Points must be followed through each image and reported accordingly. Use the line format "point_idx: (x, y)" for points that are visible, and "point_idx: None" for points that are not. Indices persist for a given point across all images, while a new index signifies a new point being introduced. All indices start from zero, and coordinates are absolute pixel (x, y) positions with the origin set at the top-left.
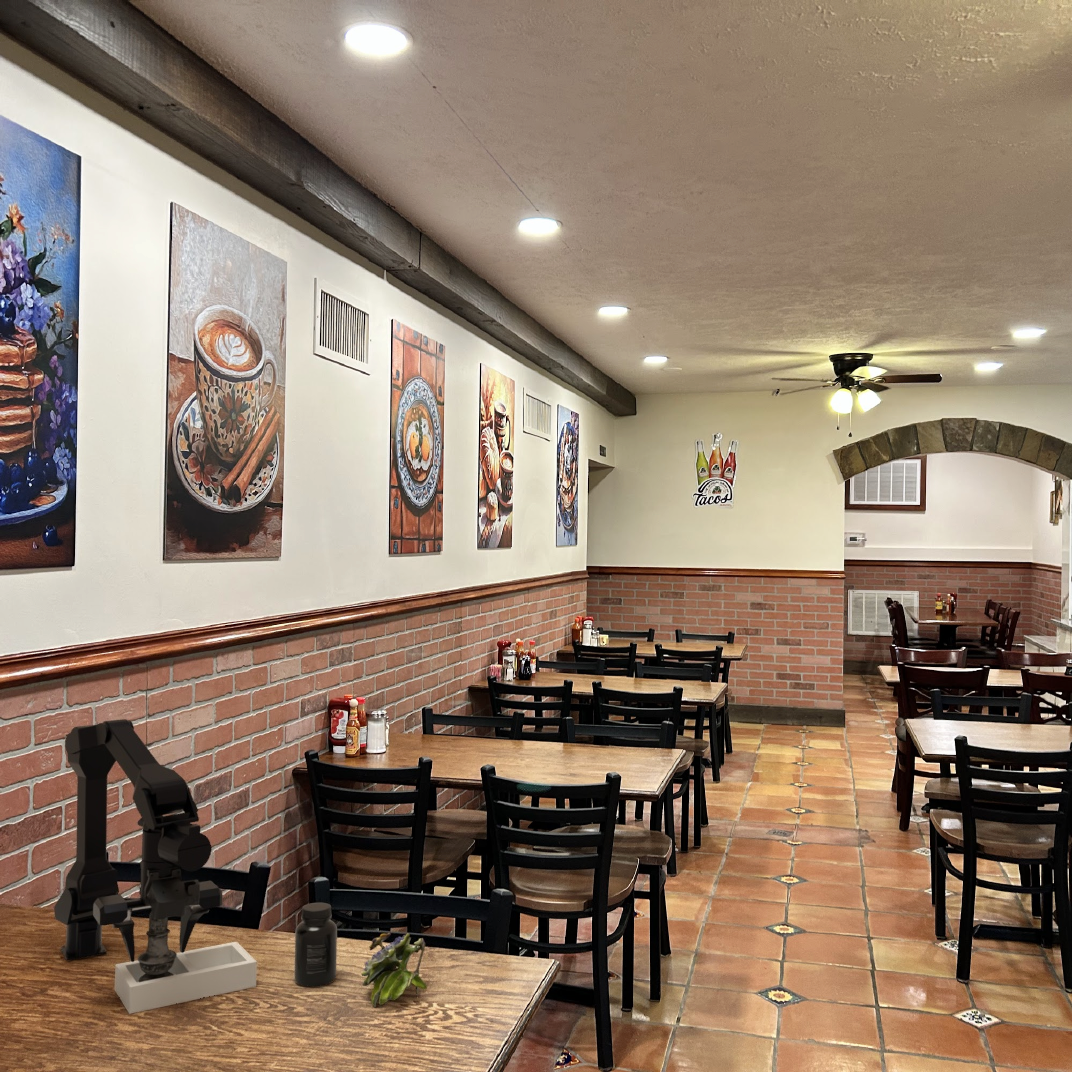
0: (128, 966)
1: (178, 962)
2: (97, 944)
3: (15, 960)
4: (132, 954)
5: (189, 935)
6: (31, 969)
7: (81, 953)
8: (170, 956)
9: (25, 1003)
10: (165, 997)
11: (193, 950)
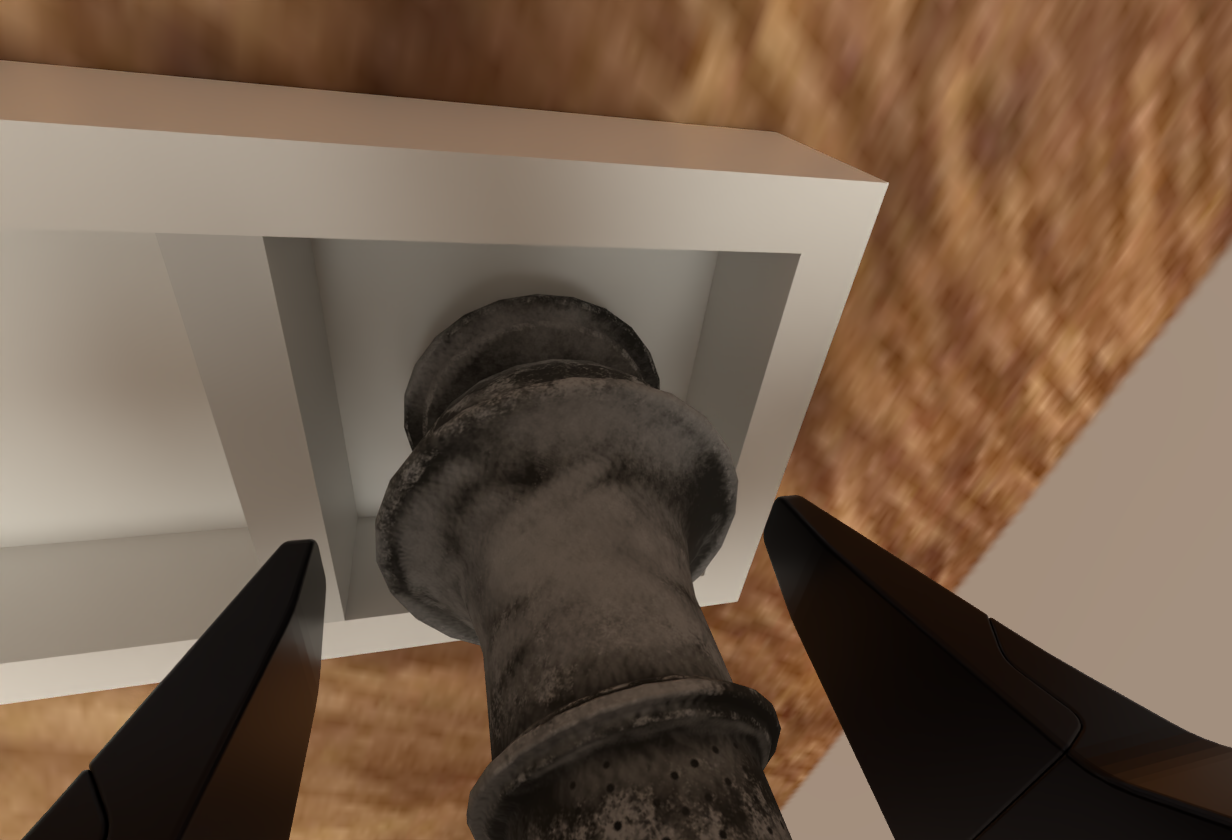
0: None
1: (338, 547)
2: None
3: (808, 761)
4: (840, 534)
5: (150, 714)
6: (811, 713)
7: None
8: (463, 471)
9: (984, 503)
10: (536, 123)
11: None
